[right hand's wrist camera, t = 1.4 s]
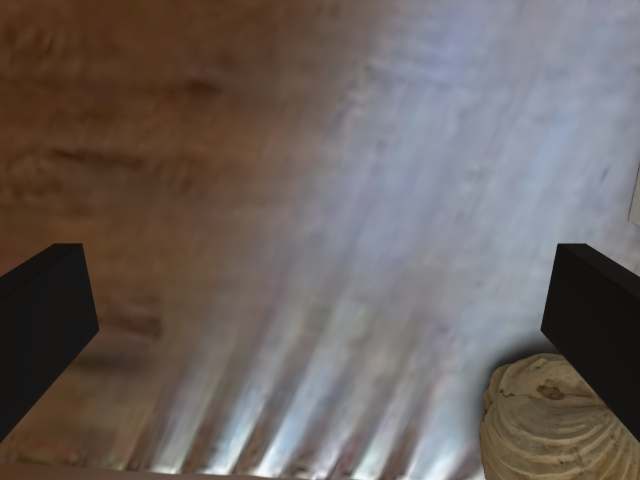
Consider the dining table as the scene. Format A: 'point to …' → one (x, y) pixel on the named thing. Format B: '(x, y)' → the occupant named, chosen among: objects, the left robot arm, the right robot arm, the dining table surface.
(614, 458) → the fossil
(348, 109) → the dining table surface
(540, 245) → the dining table surface
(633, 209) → the box
